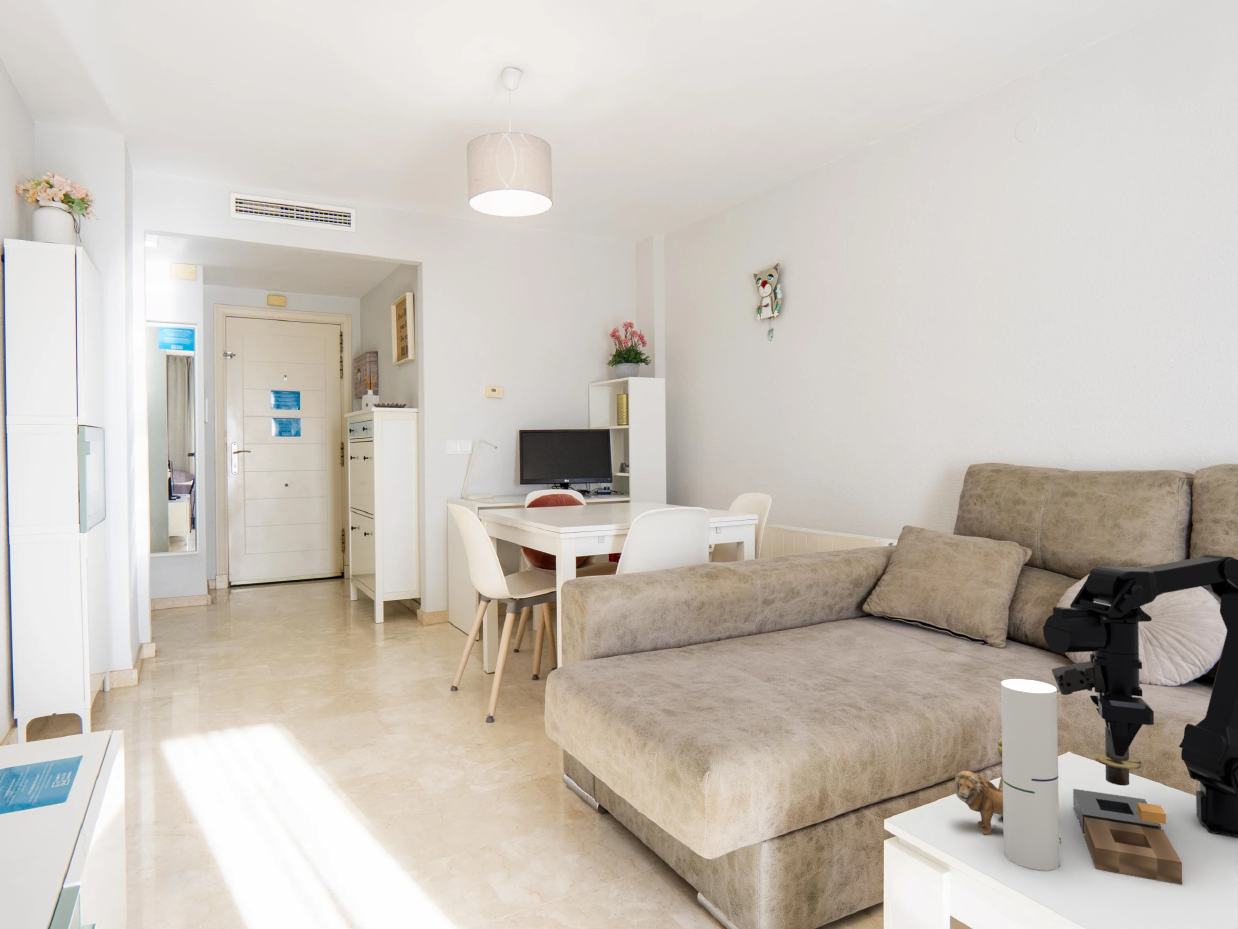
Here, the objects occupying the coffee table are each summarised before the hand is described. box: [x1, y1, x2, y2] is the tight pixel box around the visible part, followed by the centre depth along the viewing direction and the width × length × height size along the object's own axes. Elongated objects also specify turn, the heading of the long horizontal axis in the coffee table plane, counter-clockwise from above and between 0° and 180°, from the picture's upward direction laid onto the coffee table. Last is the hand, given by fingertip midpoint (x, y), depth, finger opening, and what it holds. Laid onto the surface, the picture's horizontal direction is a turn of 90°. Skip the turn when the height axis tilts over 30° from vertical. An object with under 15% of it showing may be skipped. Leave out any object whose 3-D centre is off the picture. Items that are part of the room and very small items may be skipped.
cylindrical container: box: [1000, 678, 1061, 871], centre depth 107 cm, size 7×7×25 cm
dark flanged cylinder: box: [1093, 725, 1142, 787], centre depth 113 cm, size 6×6×8 cm
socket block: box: [1072, 788, 1162, 835], centre depth 116 cm, size 10×10×3 cm
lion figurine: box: [953, 770, 1062, 841], centre depth 114 cm, size 15×5×9 cm, turn 68°
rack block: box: [1083, 817, 1183, 885], centre depth 106 cm, size 10×10×3 cm
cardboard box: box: [1137, 802, 1167, 825], centre depth 110 cm, size 3×3×2 cm
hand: (1117, 752), depth 112 cm, fingers closed on dark flanged cylinder, 3 cm apart
